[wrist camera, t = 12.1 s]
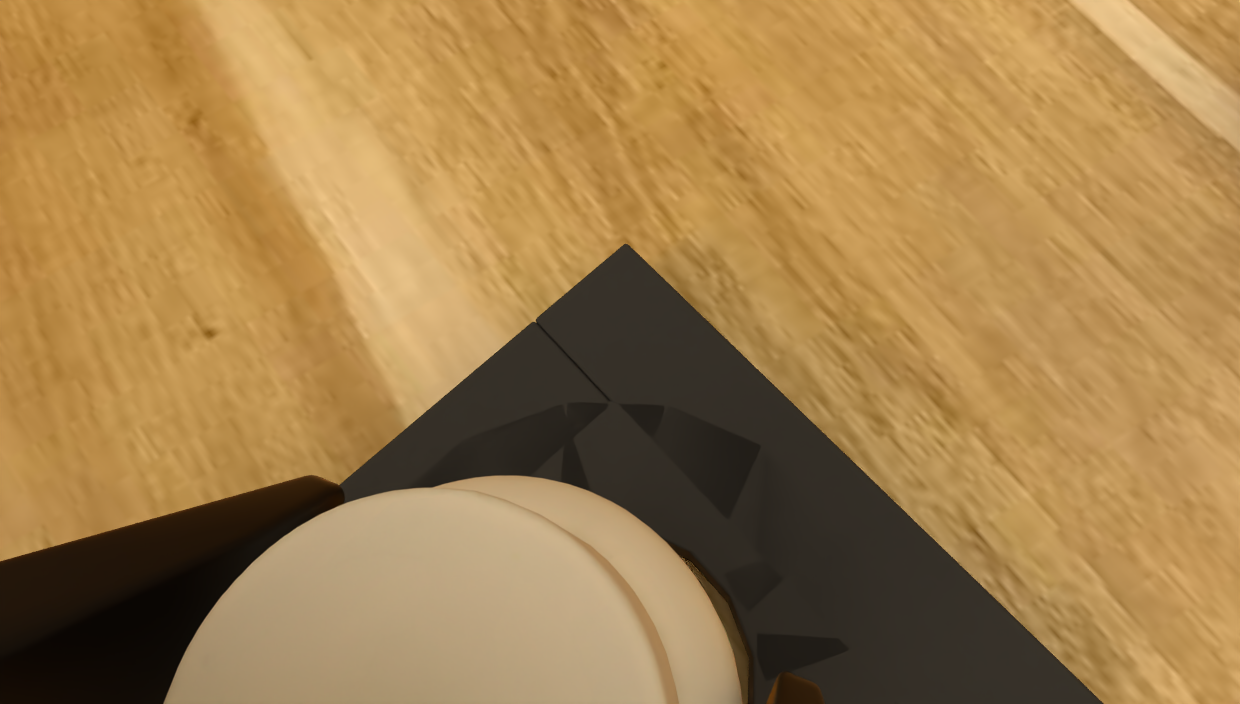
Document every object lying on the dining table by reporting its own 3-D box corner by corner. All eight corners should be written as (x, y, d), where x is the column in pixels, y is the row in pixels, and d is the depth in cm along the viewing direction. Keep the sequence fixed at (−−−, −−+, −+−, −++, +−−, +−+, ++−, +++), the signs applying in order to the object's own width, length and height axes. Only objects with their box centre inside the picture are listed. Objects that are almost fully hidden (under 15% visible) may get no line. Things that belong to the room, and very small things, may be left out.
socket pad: (573, 1253, 15) (555, 1338, 13) (196, 648, 20) (142, 648, 18) (1074, 709, 17) (1118, 716, 15) (632, 276, 22) (625, 241, 20)
